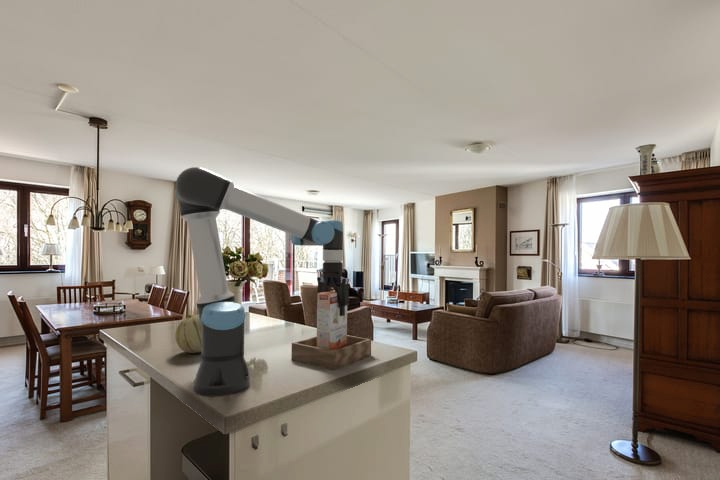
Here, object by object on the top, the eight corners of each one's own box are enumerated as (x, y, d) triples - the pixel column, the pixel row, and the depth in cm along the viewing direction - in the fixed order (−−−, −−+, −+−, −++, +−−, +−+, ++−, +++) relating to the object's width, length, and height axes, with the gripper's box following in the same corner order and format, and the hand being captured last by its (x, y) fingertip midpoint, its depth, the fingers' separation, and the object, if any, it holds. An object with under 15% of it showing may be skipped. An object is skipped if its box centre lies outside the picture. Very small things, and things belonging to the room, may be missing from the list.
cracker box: (330, 353, 125) (330, 293, 126) (315, 351, 128) (315, 292, 129) (348, 344, 138) (348, 289, 139) (334, 342, 141) (334, 289, 142)
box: (334, 370, 118) (334, 351, 118) (291, 359, 130) (291, 343, 130) (371, 355, 136) (371, 339, 136) (330, 347, 148) (330, 332, 148)
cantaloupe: (224, 350, 142) (225, 312, 143) (192, 360, 129) (193, 318, 130) (199, 345, 149) (199, 309, 149) (166, 354, 136) (167, 314, 136)
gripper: (359, 261, 132) (359, 325, 131) (320, 261, 143) (319, 319, 142) (347, 262, 126) (347, 328, 125) (306, 261, 137) (306, 322, 136)
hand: (332, 323), depth 133 cm, fingers closed on cracker box, 6 cm apart
